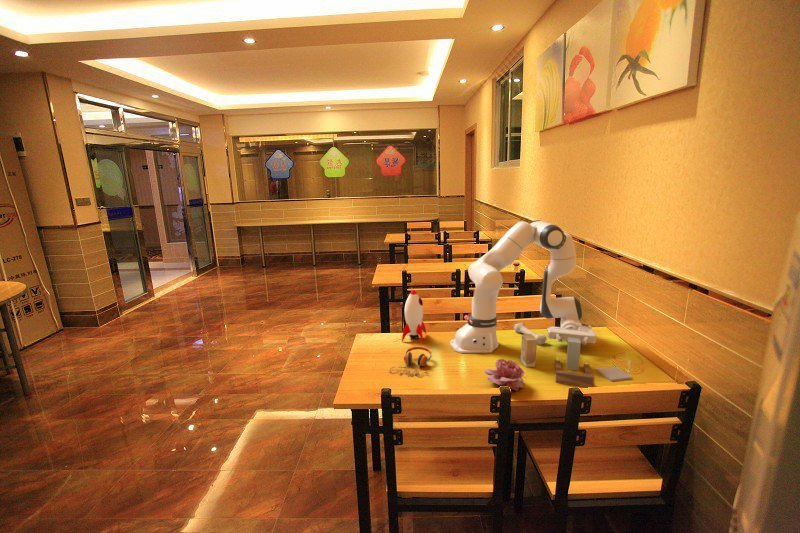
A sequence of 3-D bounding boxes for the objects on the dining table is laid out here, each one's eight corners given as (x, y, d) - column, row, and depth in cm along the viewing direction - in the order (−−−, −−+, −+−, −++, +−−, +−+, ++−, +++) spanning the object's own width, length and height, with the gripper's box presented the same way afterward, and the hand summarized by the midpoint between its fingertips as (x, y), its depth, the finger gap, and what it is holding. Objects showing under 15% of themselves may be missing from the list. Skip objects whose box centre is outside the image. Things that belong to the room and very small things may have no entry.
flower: (489, 390, 145) (497, 363, 144) (479, 375, 159) (486, 351, 159) (528, 399, 146) (536, 373, 145) (515, 384, 160) (522, 360, 160)
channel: (555, 362, 171) (555, 353, 170) (589, 366, 167) (589, 357, 166) (555, 382, 155) (556, 372, 154) (593, 387, 150) (593, 377, 149)
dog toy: (548, 345, 189) (548, 335, 188) (537, 346, 187) (537, 336, 186) (522, 330, 208) (523, 321, 207) (512, 331, 206) (512, 322, 205)
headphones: (386, 368, 164) (402, 339, 180) (388, 378, 166) (404, 349, 183) (426, 374, 158) (439, 344, 175) (427, 385, 160) (440, 354, 177)
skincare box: (520, 360, 173) (521, 334, 171) (529, 360, 174) (531, 333, 171) (525, 367, 167) (527, 339, 164) (536, 367, 167) (537, 339, 165)
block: (566, 364, 169) (568, 337, 166) (577, 365, 167) (580, 338, 165) (566, 369, 165) (568, 341, 162) (578, 370, 163) (580, 342, 161)
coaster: (610, 381, 154) (610, 379, 154) (595, 370, 163) (595, 368, 163) (631, 378, 156) (632, 377, 156) (615, 368, 164) (616, 366, 164)
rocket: (423, 343, 194) (422, 293, 189) (401, 342, 196) (400, 292, 191) (426, 334, 205) (426, 286, 199) (405, 333, 207) (404, 286, 201)
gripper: (547, 321, 191) (547, 332, 179) (595, 326, 184) (598, 337, 172) (546, 334, 193) (546, 345, 180) (593, 339, 186) (596, 351, 173)
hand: (572, 341), depth 176 cm, fingers open, 8 cm apart
